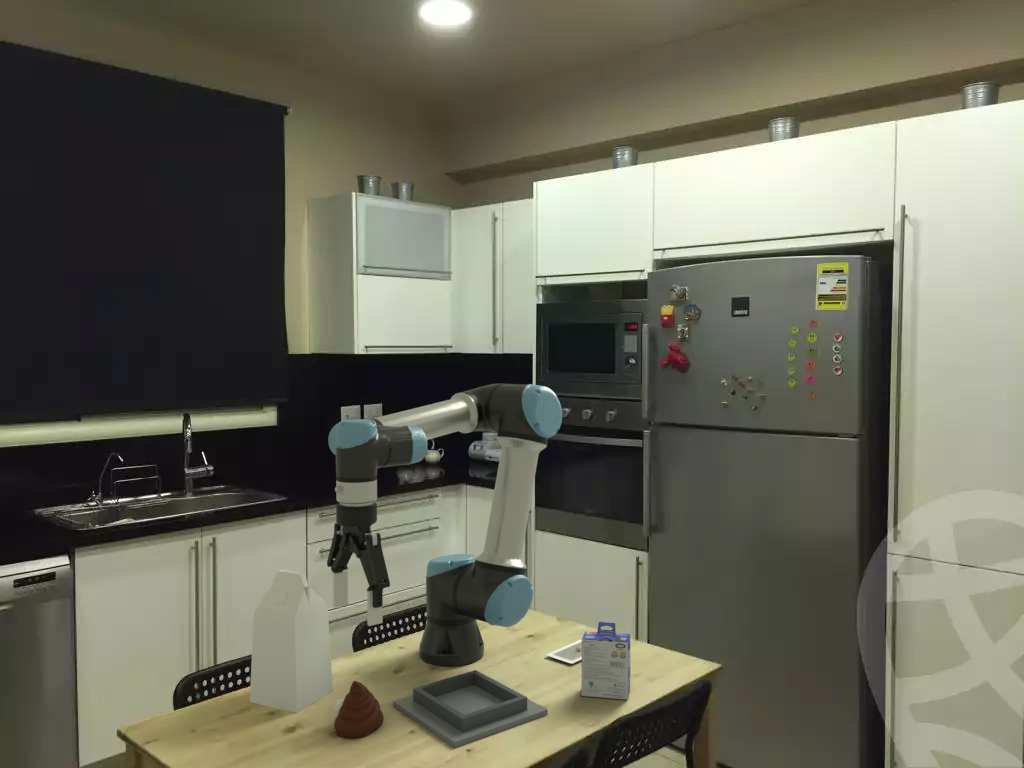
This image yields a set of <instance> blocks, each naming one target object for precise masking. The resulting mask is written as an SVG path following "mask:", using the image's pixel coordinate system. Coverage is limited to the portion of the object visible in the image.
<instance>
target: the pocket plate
mask: <svg viewBox="0 0 1024 768" xmlns="http://www.w3.org/2000/svg"><path fill="white" fill-rule="evenodd" d="M392 707H394V708H395V709H396V710H399V711H400V712H401V713H403V714H404V715H406V717H407V716H408V717H409V718H410V719H412V720H413V721H414V722H416V723H418V724H419V725H421V726H422V727H423V728H425V729H426V730H427V731H428V732H429V731H430V732H431V733H432V734H434V735H435V736H437V737H438V738H439V739H441V740H443V741H444V742H446V743H447V744H449V745H450V746H451V747H453V748H458V747H461V746H463V745H464V746H465V745H467V744H469V743H472V742H475V741H478V740H481V739H483V738H485V737H488V736H491V735H494V734H497V733H499V732H503V731H505V730H508V729H511V728H513V727H516V726H519V725H522V724H525V723H528V722H530V721H533V720H535V719H539V718H542V717H544V716H547V715H548V714H549V710H548V708H546V707H544V706H542V705H540V704H538V703H537V702H534V701H533V700H531V699H529V698H528V696H526V695H524V694H522V693H520V692H518V691H516V690H514V689H512V688H510V686H507V685H505V684H503V683H501V682H499V681H497V680H495V679H494V678H491V677H489V676H487V675H486V674H484V673H482V672H480V671H479V670H477V669H474V670H471V671H468V672H464V673H461V674H458V675H457V674H456V675H454V676H451V677H447V678H444V679H440V680H436V681H434V682H430V683H427V684H424V685H420V686H417V687H414V688H413V689H412V695H409V696H406V697H401V698H398V699H395V700H393V701H392Z"/></svg>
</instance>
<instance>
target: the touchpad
mask: <svg viewBox="0 0 1024 768" xmlns="http://www.w3.org/2000/svg"><path fill="white" fill-rule="evenodd" d="M545 656H546V657H550V658H553V659H556V660H559V661H562V662H565V663H568V664H575V663H577V662H579V661H582V638H581V639H579V640H577V641H574V642H573V643H570V644H567V645H565V646H563V647H560V648H558V649H555V650H553V651H551V652H549V653H546V654H545Z"/></svg>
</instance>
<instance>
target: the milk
mask: <svg viewBox="0 0 1024 768" xmlns="http://www.w3.org/2000/svg"><path fill="white" fill-rule="evenodd" d="M327 604H328V603H327V602H326V601H325V599H323V598H322V597H321V596H320V595H319V594H317V592H316V591H315V590H313V589H312V587H310V586H309V583H308V580H307V576H306V574H305V572H302V571H297V570H291V569H290V570H289V569H284V568H283V569H279V570H278V569H277V571H276V574H275V577H274V579H273V582H272V584H271V585H270V587H269V588H268V590H267V591H266V593H265V594H264V595H263V597H262V598H261V599H260V601H259V602H258V604H257V605H256V607H255V609H254V612H253V620H252V639H251V640H252V641H251V642H252V643H251V663H250V664H251V666H250V668H251V669H250V689H249V691H250V692H249V702H250V703H253V704H258V705H261V706H266V707H270V708H275V709H279V710H283V711H287V712H292V713H294V714H295V713H296V714H298V713H299V712H301V711H303V710H304V709H306V708H308V707H309V706H311V705H313V704H314V703H316V702H318V701H319V700H320V699H322V698H323V697H325V696H327V695H329V694H330V693H332V692H333V691H334V687H333V685H334V684H333V673H332V672H333V671H332V670H333V669H332V656H331V655H332V654H331V641H330V640H331V639H330V626H329V625H330V623H329V611H328V605H327Z"/></svg>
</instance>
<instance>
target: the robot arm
mask: <svg viewBox="0 0 1024 768" xmlns="http://www.w3.org/2000/svg"><path fill="white" fill-rule="evenodd" d="M562 410H563V408H562V406H561V403H560V400H559V398H558V396H557V394H556V393H555V392H554V390H552V389H551V388H549V387H548V386H544V385H539V384H538V385H537V384H532V383H528V384H526V383H525V384H521V383H519V384H518V383H517V384H516V383H491V384H487V385H483V386H479V387H476V388H472V389H469V390H466V391H461V392H456V393H454V395H452V396H451V397H450V399H446V400H443V401H438V402H433V403H432V404H427V405H423V406H419V407H414V408H411V409H407V410H403V411H399V412H394V413H390V414H385V415H381V416H378V417H374V418H371V419H370V418H369V419H365V418H363V419H361V418H358V419H343V420H341V421H339V422H338V423H336V424H335V425H334V426H333V427H332V428H331V429H330V432H329V434H328V439H327V441H328V447H329V449H330V451H331V452H332V454H333V455H334V456H335V478H336V479H335V480H336V481H335V482H336V486H335V488H334V491H335V493H336V495H335V496H336V500H335V501H337V502H338V503H336V504H337V505H336V507H335V510H336V511H335V514H336V515H335V517H336V518H335V519H336V522H335V523H334V526H333V531H334V532H333V536H332V539H331V540H332V541H331V545H330V548H329V553H328V556H327V557H328V558H327V561H326V566H327V568H330V570H331V572H332V574H333V575H332V579H333V580H332V581H333V582H332V583H333V586H332V589H333V590H332V591H333V594H332V595H333V597H332V598H333V600H332V601H333V608H338V607H343V606H348V605H349V599H348V597H349V590H348V589H349V587H348V586H349V583H348V582H349V581H348V580H349V579H348V578H349V577H348V576H349V575H348V574H349V573H348V571H347V570H349V566H348V564H349V562H350V560H351V557H352V556H353V554H354V555H355V556H356V558H357V559H359V561H360V563H361V567H362V569H363V572H364V576H365V578H366V581H367V583H368V587H367V588H366V591H367V592H366V594H367V595H366V599H367V600H366V601H367V603H366V604H367V608H366V609H367V612H366V613H367V614H366V615H367V617H366V619H367V626H368V627H371V626H375V625H379V624H383V623H384V622H383V619H384V617H383V613H384V612H383V611H384V610H383V607H384V606H383V604H384V603H383V602H384V601H383V598H384V596H383V594H384V593H383V592H384V589H385V588H390V586H391V582H390V578H389V573H388V570H387V568H388V567H387V565H386V560H385V557H384V551H383V548H382V537H381V533H380V532H377V533H372V530H371V527H372V526H373V525H375V523H377V522H378V504H377V503H376V501H377V500H378V469H381V468H388V467H396V466H397V467H398V466H405V465H406V466H409V465H412V464H416V463H420V462H421V461H423V459H424V458H425V457H426V455H427V452H428V441H429V440H431V439H435V438H438V437H443V436H446V435H450V434H453V433H457V432H460V433H461V434H468V433H472V432H493V433H497V435H496V440H497V441H498V443H499V444H500V446H501V449H500V456H499V462H498V467H497V471H496V472H497V473H496V478H495V485H494V491H493V497H492V501H491V507H490V513H489V519H488V525H487V530H486V536H485V541H484V546H483V551H482V552H481V553H480V554H479V555H477V556H476V555H475V554H473V553H455V554H447V555H441V556H438V557H434V558H431V560H429V561H428V562H427V566H426V576H425V587H426V588H425V590H426V591H425V592H426V593H425V594H426V599H425V600H426V624H425V627H424V629H423V634H422V637H421V640H420V643H419V646H418V647H419V648H418V649H419V651H418V652H419V657H420V659H421V660H422V661H424V662H425V663H428V664H431V665H435V666H443V667H444V666H447V667H450V666H451V667H452V666H453V667H454V666H463V665H464V666H465V665H469V664H471V663H475V662H477V661H479V660H480V659H482V658H483V657H484V655H485V644H484V640H483V637H482V634H481V631H480V628H479V624H478V621H480V622H483V623H484V622H485V623H487V624H488V625H490V626H497V627H503V628H508V627H509V628H510V627H513V626H515V625H517V624H519V622H521V620H522V619H523V618H525V616H526V615H527V613H528V612H529V610H530V609H531V606H532V602H533V598H534V588H533V586H532V585H533V583H532V582H531V580H530V579H529V578H528V577H527V576H526V572H527V565H526V563H524V561H523V559H522V556H523V548H524V544H525V538H526V531H527V526H528V520H529V513H530V509H531V503H532V496H533V491H534V490H533V489H534V484H535V477H536V472H537V466H538V459H539V455H540V453H541V452H542V451H543V450H544V449H546V448H547V447H548V441H549V438H550V439H551V438H552V437H554V436H555V435H556V434H557V433H558V431H559V430H560V428H561V425H562V421H563V411H562Z"/></svg>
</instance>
